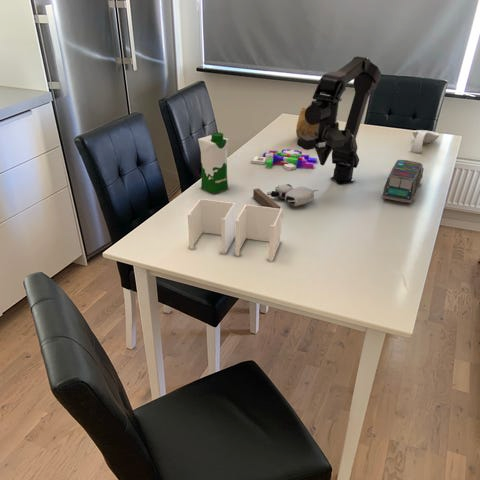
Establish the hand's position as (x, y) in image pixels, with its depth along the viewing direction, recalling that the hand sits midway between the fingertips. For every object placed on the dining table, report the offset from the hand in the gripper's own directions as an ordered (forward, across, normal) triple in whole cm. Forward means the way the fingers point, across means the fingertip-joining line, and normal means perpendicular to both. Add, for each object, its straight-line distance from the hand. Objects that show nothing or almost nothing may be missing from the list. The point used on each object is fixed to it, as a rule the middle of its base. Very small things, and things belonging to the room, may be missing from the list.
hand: (322, 165), depth 165 cm
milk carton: (+11, -32, +20) cm, 40 cm away
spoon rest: (+11, +72, +27) cm, 78 cm away
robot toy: (+11, -11, 0) cm, 16 cm away
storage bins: (+11, -42, -20) cm, 48 cm away
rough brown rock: (+11, +30, +51) cm, 60 cm away
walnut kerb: (+11, -22, -1) cm, 24 cm away
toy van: (+11, +30, -9) cm, 33 cm away
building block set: (+11, +6, +35) cm, 37 cm away
